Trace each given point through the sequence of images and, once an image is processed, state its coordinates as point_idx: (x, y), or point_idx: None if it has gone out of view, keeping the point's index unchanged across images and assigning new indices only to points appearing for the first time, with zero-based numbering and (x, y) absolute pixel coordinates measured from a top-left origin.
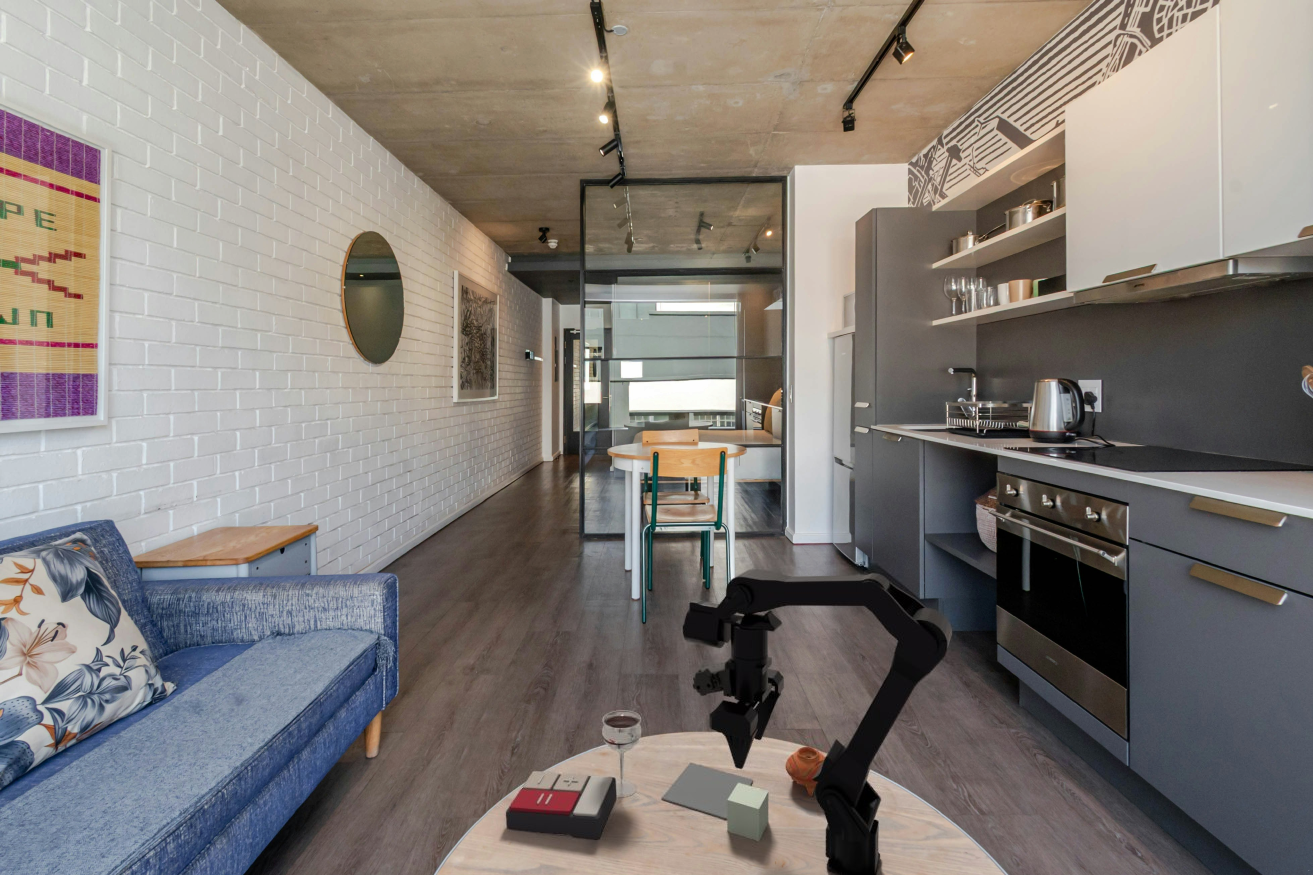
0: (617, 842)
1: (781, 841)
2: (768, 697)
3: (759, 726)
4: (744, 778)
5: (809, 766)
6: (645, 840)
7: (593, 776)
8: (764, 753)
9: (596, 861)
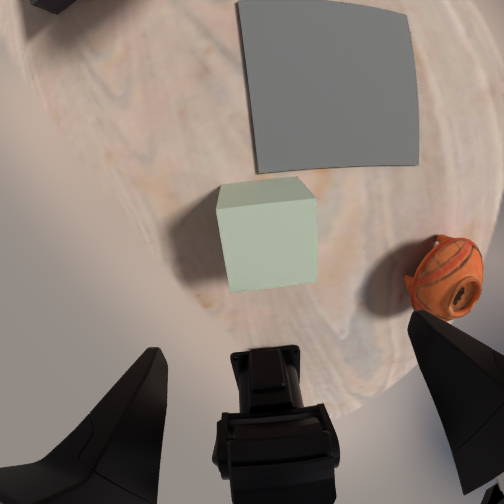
0: (64, 37)
1: None
2: (485, 482)
3: (436, 366)
4: (415, 145)
5: (434, 307)
6: (92, 66)
7: None
8: (490, 159)
9: (19, 57)
